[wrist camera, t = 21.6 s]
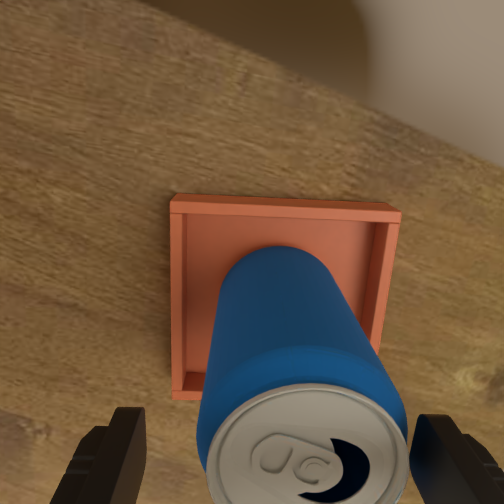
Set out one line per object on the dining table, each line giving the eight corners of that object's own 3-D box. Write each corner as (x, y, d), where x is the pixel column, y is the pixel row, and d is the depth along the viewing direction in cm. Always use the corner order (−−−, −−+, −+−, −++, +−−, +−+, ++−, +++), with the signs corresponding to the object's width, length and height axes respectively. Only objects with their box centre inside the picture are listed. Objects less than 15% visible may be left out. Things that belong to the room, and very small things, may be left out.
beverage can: (305, 362, 24) (358, 581, 12) (202, 325, 23) (158, 523, 12) (354, 267, 22) (470, 420, 11) (245, 223, 21) (243, 337, 10)
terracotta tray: (176, 193, 21) (169, 200, 19) (386, 203, 22) (402, 211, 19) (177, 376, 24) (171, 400, 22) (359, 381, 25) (370, 405, 23)
